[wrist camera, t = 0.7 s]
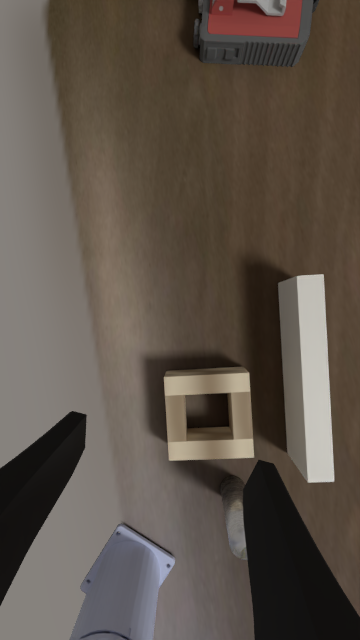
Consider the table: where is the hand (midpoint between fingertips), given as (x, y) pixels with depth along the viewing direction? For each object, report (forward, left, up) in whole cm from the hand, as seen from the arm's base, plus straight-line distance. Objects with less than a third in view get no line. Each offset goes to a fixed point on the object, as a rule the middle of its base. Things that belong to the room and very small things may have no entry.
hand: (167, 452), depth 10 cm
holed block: (-3, -5, -19) cm, 20 cm away
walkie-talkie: (+36, +16, -20) cm, 44 cm away
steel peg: (-10, -13, -19) cm, 25 cm away
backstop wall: (+6, -11, -19) cm, 23 cm away
